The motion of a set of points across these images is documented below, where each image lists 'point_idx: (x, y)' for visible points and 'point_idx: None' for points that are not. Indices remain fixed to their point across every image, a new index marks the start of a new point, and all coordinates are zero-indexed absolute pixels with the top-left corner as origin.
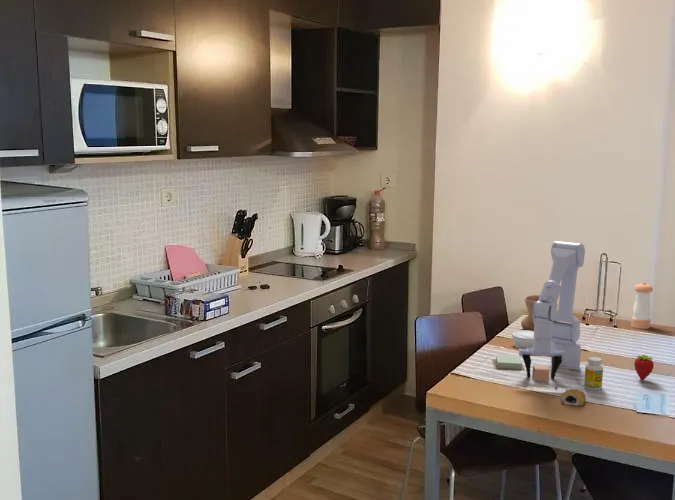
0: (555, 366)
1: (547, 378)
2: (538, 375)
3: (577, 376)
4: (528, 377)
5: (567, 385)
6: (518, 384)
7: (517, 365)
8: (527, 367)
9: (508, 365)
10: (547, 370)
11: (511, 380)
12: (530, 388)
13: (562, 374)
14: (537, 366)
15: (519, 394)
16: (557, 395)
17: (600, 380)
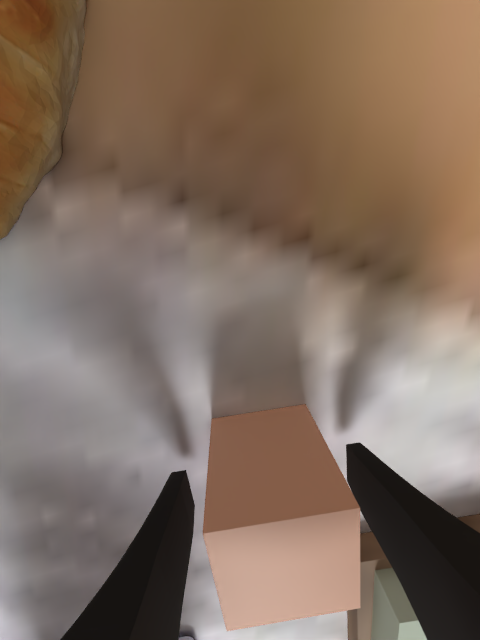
0: (120, 609)
1: (219, 450)
2: (298, 457)
3: (44, 583)
4: (359, 444)
5: (84, 436)
6: (414, 361)
7: None
8: (448, 519)
9: None
10: (223, 521)
11: (445, 418)
12: (341, 307)
13: None
14: (322, 582)
15: (450, 139)
16: (138, 205)
17: None
